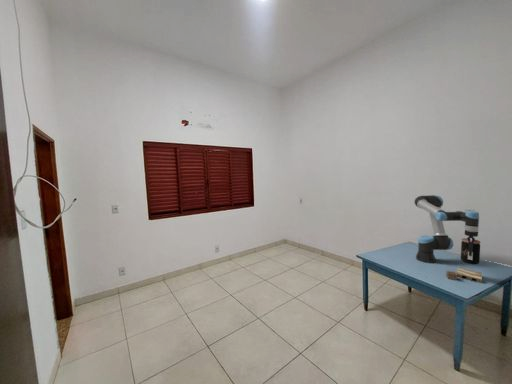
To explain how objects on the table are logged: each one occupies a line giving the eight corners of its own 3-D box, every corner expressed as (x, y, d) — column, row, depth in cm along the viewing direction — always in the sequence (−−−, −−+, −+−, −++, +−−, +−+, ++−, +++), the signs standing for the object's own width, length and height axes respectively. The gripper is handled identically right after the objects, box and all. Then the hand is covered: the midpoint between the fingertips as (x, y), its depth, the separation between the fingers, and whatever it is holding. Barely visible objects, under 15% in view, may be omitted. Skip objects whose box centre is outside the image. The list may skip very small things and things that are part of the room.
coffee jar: (456, 259, 175) (457, 238, 173) (469, 258, 174) (471, 238, 173) (469, 264, 164) (470, 242, 162) (483, 264, 164) (484, 242, 162)
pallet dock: (457, 270, 180) (457, 267, 180) (481, 276, 170) (481, 272, 170) (456, 277, 171) (456, 273, 170) (481, 283, 160) (482, 279, 160)
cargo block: (446, 276, 173) (446, 270, 172) (454, 277, 170) (454, 271, 170) (448, 279, 168) (448, 273, 168) (456, 280, 166) (456, 274, 165)
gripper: (465, 226, 177) (463, 251, 179) (464, 233, 161) (463, 260, 163) (477, 228, 172) (476, 254, 174) (478, 234, 156) (477, 263, 158)
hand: (470, 257), depth 169 cm, fingers closed on coffee jar, 10 cm apart
